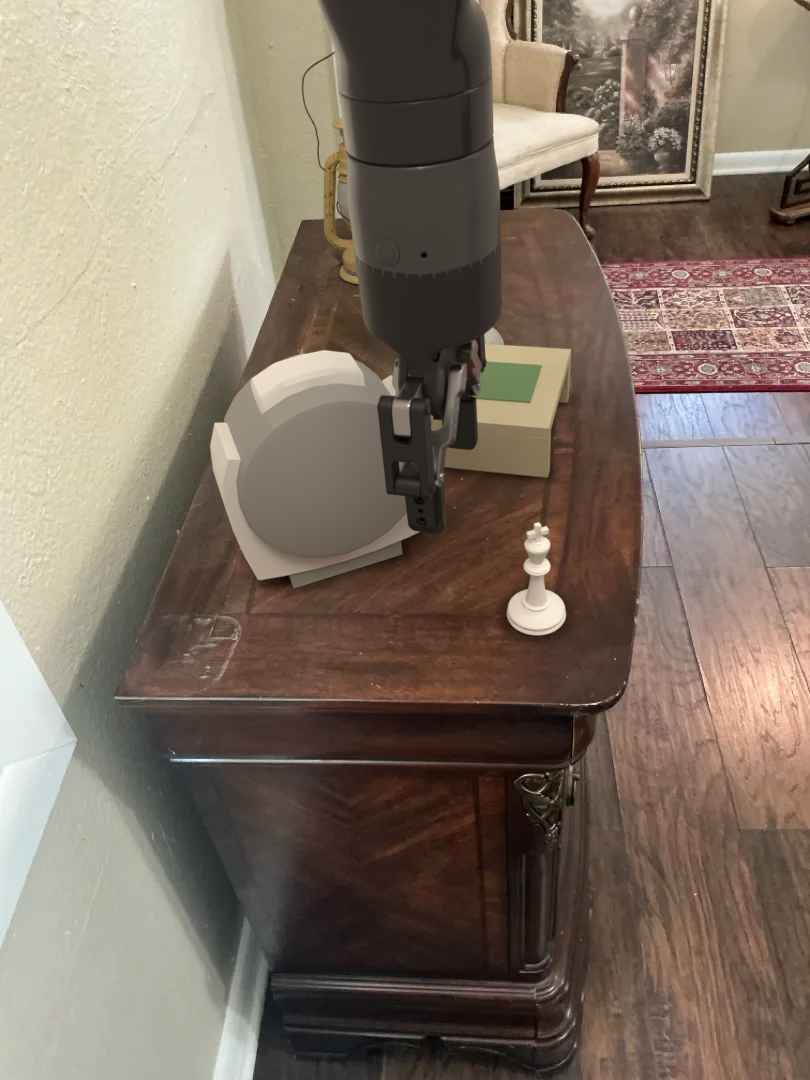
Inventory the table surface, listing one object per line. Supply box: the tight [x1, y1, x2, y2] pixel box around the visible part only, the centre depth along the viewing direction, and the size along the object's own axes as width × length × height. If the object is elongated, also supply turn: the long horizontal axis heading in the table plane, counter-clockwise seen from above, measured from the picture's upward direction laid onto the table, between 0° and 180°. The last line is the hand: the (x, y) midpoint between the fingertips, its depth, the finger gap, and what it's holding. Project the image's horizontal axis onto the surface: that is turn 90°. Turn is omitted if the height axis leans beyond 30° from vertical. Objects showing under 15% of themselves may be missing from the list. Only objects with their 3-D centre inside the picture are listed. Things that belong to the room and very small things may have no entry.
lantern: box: [301, 51, 359, 285], centre depth 115 cm, size 12×10×30 cm
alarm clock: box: [209, 349, 420, 589], centre depth 74 cm, size 18×8×20 cm, turn 110°
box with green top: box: [431, 344, 572, 479], centre depth 91 cm, size 12×15×6 cm
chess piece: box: [506, 521, 567, 636], centre depth 70 cm, size 5×5×10 cm
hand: (445, 484), depth 55 cm, fingers open, 8 cm apart
